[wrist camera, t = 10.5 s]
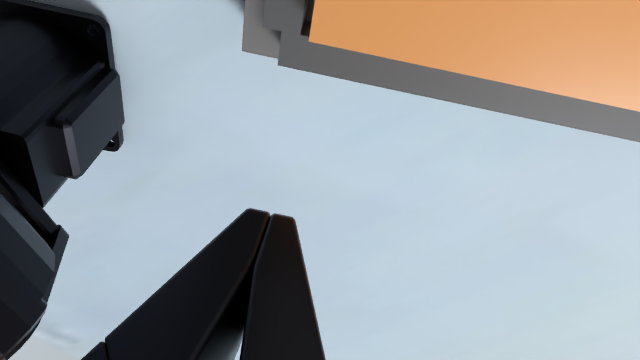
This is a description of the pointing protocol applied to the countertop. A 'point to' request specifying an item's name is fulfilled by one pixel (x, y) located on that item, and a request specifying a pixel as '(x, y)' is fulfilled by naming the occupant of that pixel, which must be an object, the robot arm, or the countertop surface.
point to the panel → (417, 74)
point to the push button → (500, 41)
